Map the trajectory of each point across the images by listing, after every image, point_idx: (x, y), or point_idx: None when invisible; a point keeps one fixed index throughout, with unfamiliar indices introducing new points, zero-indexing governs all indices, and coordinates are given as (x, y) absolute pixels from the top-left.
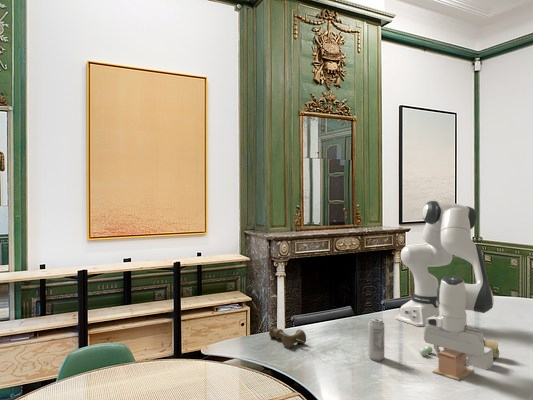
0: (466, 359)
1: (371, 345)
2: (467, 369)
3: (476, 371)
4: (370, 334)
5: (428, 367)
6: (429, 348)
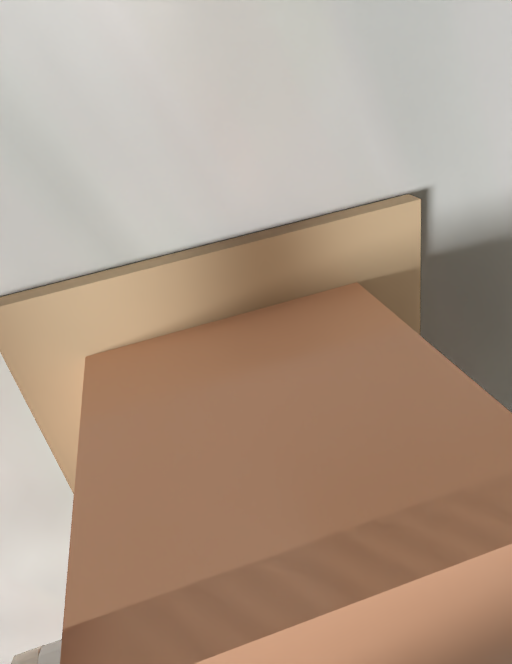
0: (455, 374)
1: None
2: (366, 275)
3: (446, 153)
4: None
5: (15, 613)
6: None
